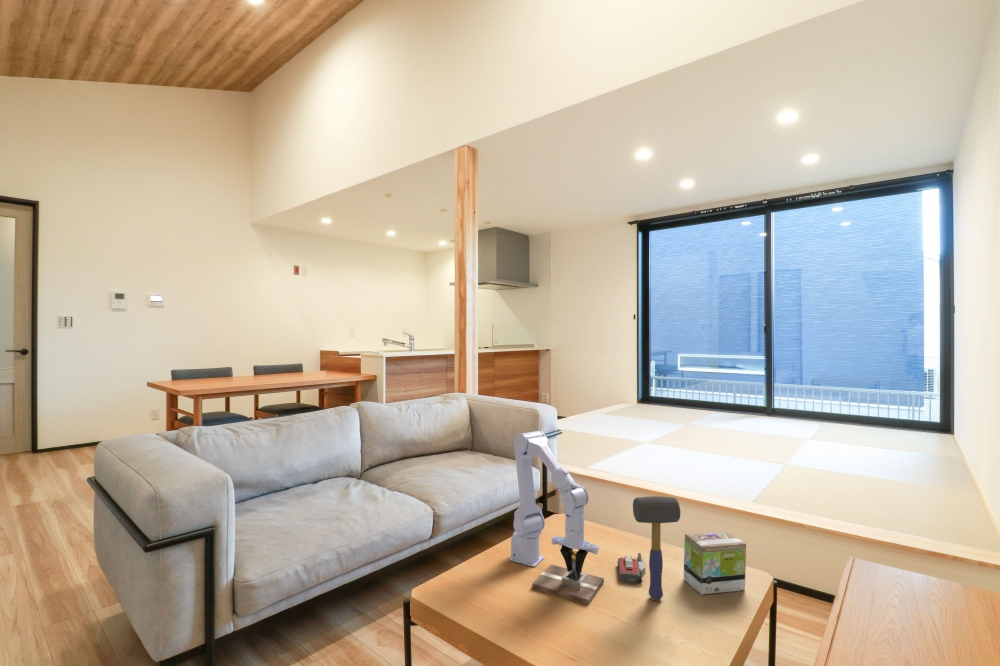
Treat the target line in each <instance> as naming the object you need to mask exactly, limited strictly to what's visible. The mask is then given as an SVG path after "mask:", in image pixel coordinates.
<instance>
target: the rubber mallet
mask: <svg viewBox="0 0 1000 666" xmlns="http://www.w3.org/2000/svg"><path fill="white" fill-rule="evenodd" d="M632 513H633V517H634V519H635V521H636V522H637V523H644V524H651V541H650V542H651V543H650V544H651V547H650V550H649V558H648V559H649V560H648V561H649V563H648V567H649V588H648V595H649V596H650V599H651V600H653V601H656V602H657V601H658V602H659V601H661V600H662V598H663V595H664V592H663V585H662V584H663V583H662V581H663V580H662V577H663V575H662V573H663V565H664V564H663V552H662V549H661V547H662V546H661V545H662V544H661V524H665V523H666V524H668V523H669V524H670V523H676V522H679V521H680V518H681V507H680V503H679V501H678V500H677V498H675V497H673V496H672V497H670V496H659V495H655V496H653V495H652V496H641V497H640V496H639V497H635V498H634V499H633V501H632Z"/></svg>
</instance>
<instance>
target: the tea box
mask: <svg viewBox="0 0 1000 666" xmlns="http://www.w3.org/2000/svg"><path fill="white" fill-rule="evenodd" d="M683 548H684V552H683V553H684V554H683V580H684V581H685V582H686V583H688V585H689V586H691V587H692V588H693V589H694V590H696V591H697V592H698V594H700V595H702V596H703V595H708V594H710V595H711V594H719V593H729V592H730V593H732V592H741V591H740V590H744V591H745V590H746V569H747V568H746V562H747V561H746V559H747V558H746V557H747V544H746V543H745V542H744V541H742V540H741V539H739V538H738V537H736V536H735V535H733V534H731V533H729V532H728V531H727V530H722V531H708V532H697V533H695V532H694V533H684V547H683Z"/></svg>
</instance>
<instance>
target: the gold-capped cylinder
mask: <svg viewBox="0 0 1000 666" xmlns="http://www.w3.org/2000/svg"><path fill="white" fill-rule="evenodd" d="M577 551H578V550H577ZM577 551H575V550H573V551H572V552H570V559H571V578H572V579H578V578H579V575H578V574H577V559H576V553H577Z"/></svg>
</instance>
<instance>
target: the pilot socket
mask: <svg viewBox="0 0 1000 666" xmlns="http://www.w3.org/2000/svg"><path fill="white" fill-rule="evenodd" d="M584 573H585V572H582V573H580V575H579V578H578V579H576V580H574V579H571V571H570V572H568V571H567V572H566V574H565V575H564V576H563V577H562V585H565V586H569V587H573V588H576V589H580V590H581V588H582V587H583V585H584V584H585V583H586V582H587V574H588V573H586V574H584ZM578 580H579V581H578Z"/></svg>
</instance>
